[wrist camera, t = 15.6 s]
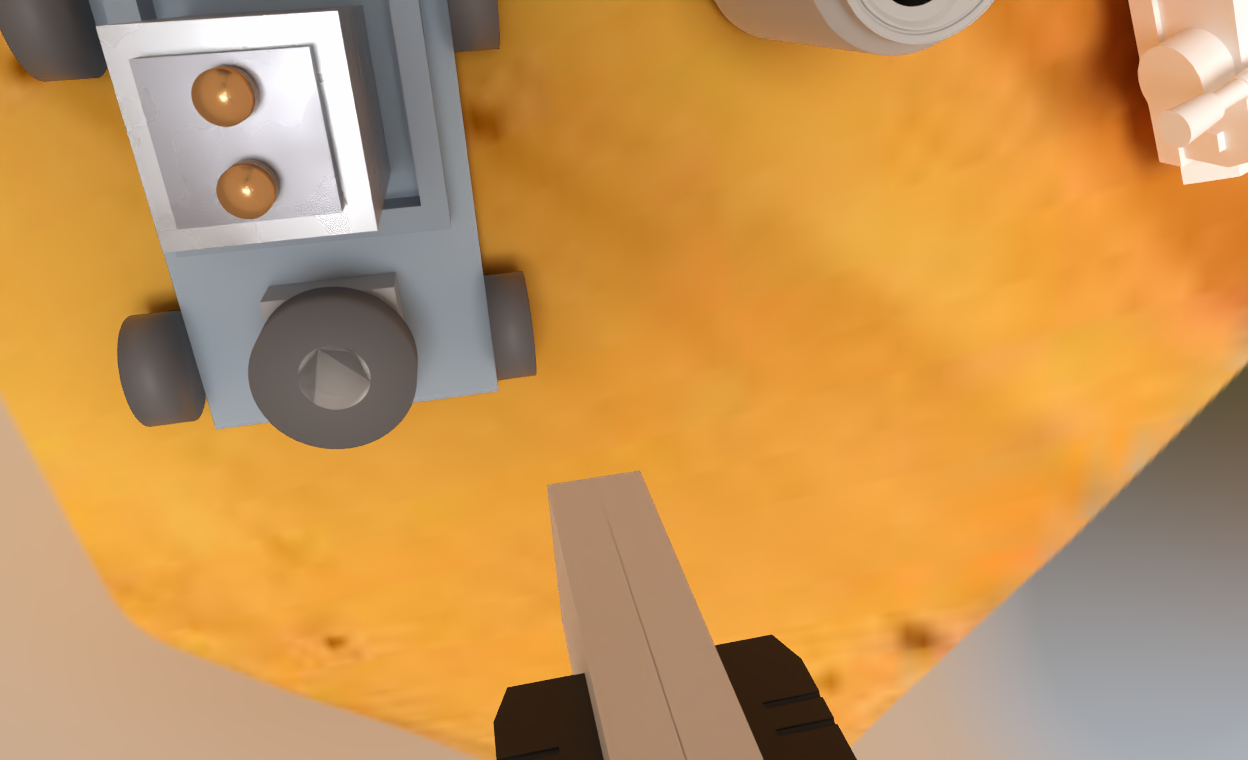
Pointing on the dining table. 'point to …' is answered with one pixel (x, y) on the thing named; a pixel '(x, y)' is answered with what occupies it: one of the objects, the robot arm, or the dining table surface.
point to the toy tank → (1196, 83)
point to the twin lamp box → (252, 124)
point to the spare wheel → (334, 368)
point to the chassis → (367, 261)
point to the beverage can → (855, 22)
